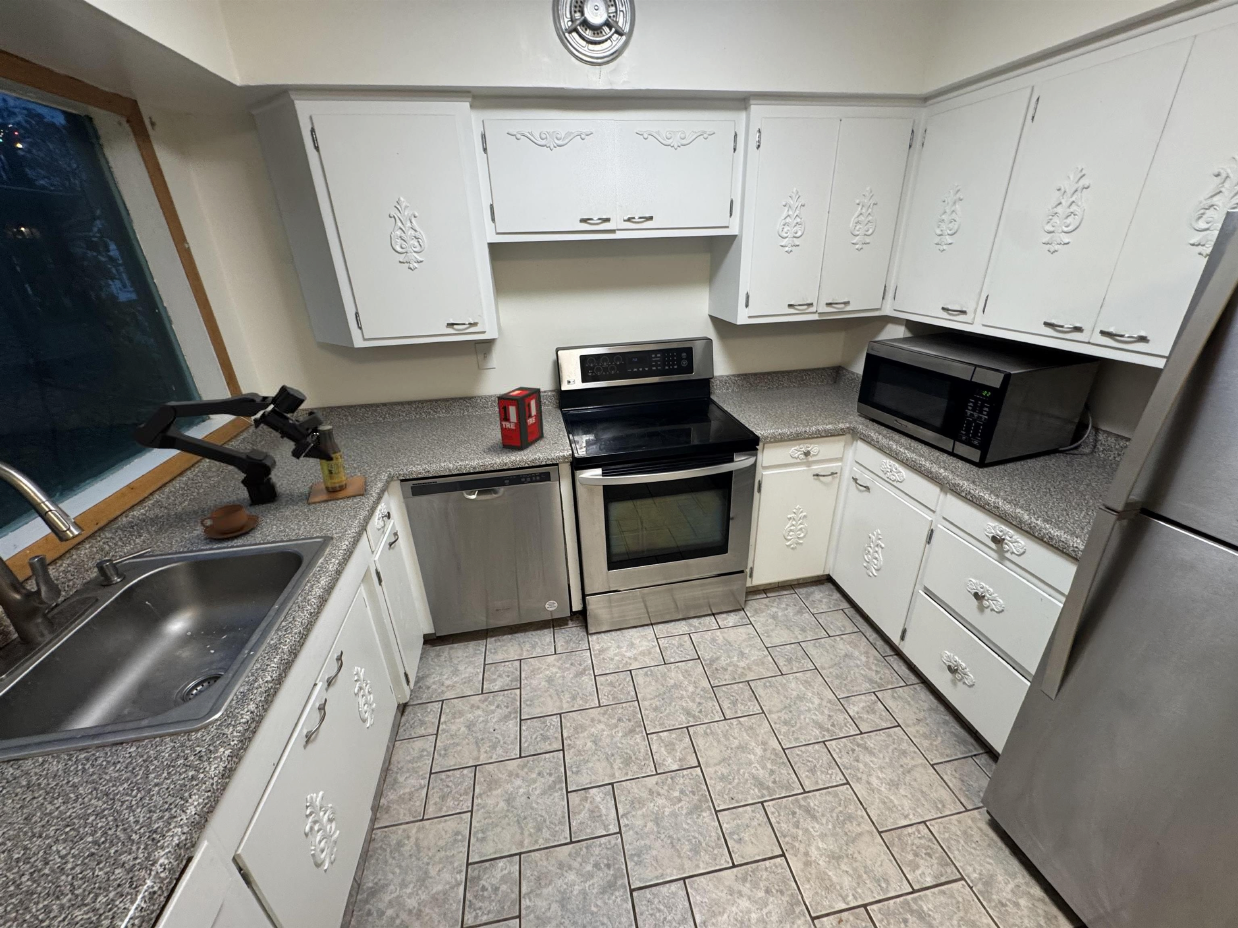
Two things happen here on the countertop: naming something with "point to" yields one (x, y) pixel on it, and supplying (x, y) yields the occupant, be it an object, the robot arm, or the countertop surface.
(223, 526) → the cup and saucer
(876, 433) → the countertop surface
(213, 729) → the countertop surface
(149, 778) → the countertop surface
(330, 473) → the sauce bottle
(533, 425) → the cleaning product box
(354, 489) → the cork mat
